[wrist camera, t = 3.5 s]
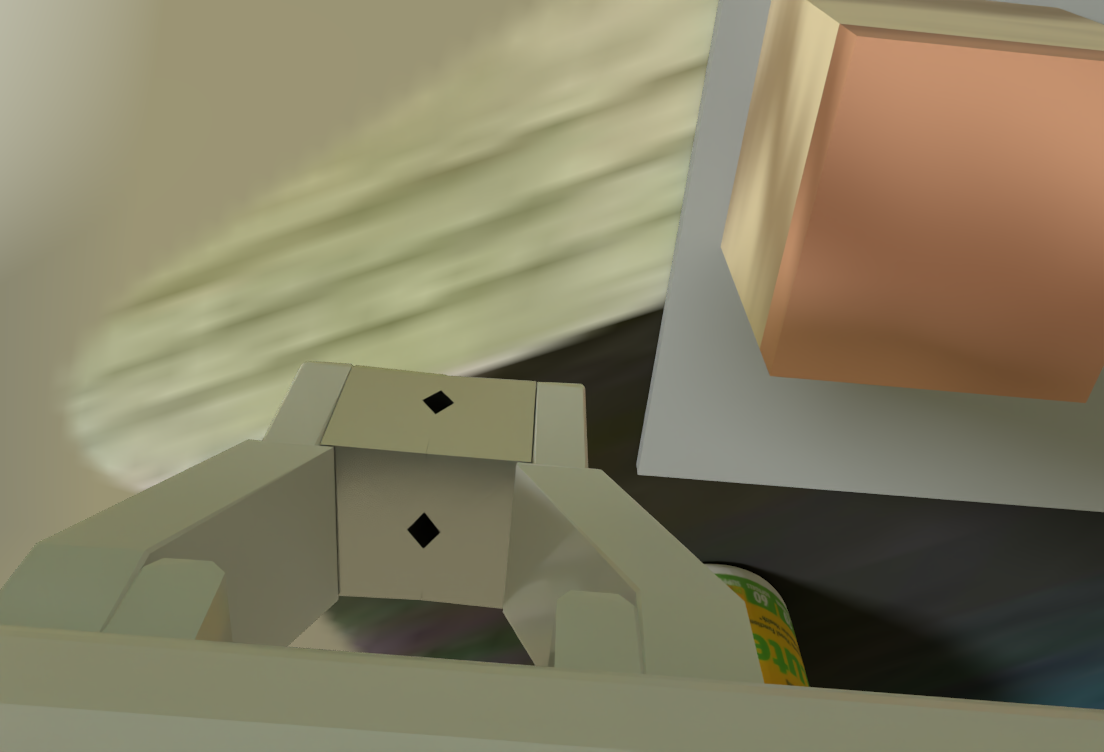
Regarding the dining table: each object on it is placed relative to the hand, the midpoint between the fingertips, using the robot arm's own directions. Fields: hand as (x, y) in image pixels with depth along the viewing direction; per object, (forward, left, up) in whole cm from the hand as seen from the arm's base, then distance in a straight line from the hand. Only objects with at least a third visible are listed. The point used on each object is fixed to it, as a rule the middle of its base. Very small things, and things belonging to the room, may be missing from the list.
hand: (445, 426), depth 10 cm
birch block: (-1, +8, -12) cm, 15 cm away
